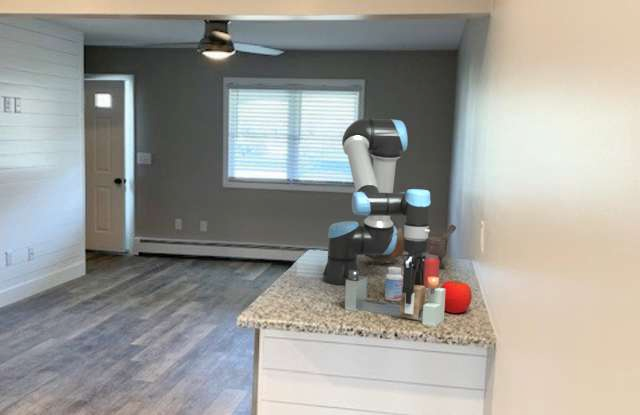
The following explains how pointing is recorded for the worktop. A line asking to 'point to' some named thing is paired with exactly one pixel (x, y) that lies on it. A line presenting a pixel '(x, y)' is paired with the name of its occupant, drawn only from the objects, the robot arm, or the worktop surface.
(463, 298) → the tomato
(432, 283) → the cylinder
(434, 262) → the beer can
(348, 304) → the rail
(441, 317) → the pale stepped block
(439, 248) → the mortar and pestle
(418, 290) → the block
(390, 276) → the pill bottle
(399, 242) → the vase
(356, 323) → the worktop surface
